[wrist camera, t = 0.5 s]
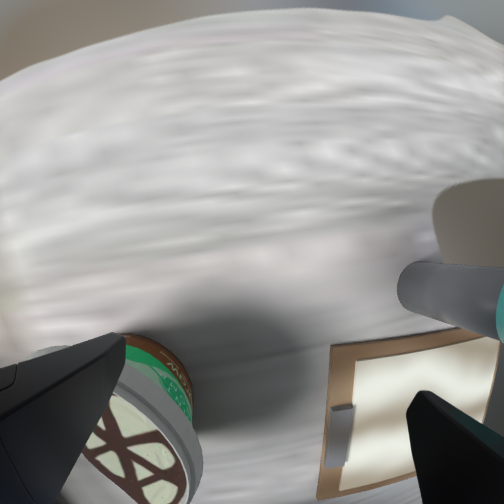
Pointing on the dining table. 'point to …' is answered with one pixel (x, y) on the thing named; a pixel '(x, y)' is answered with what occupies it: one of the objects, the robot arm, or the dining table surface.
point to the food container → (148, 427)
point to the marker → (456, 295)
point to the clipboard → (395, 402)
